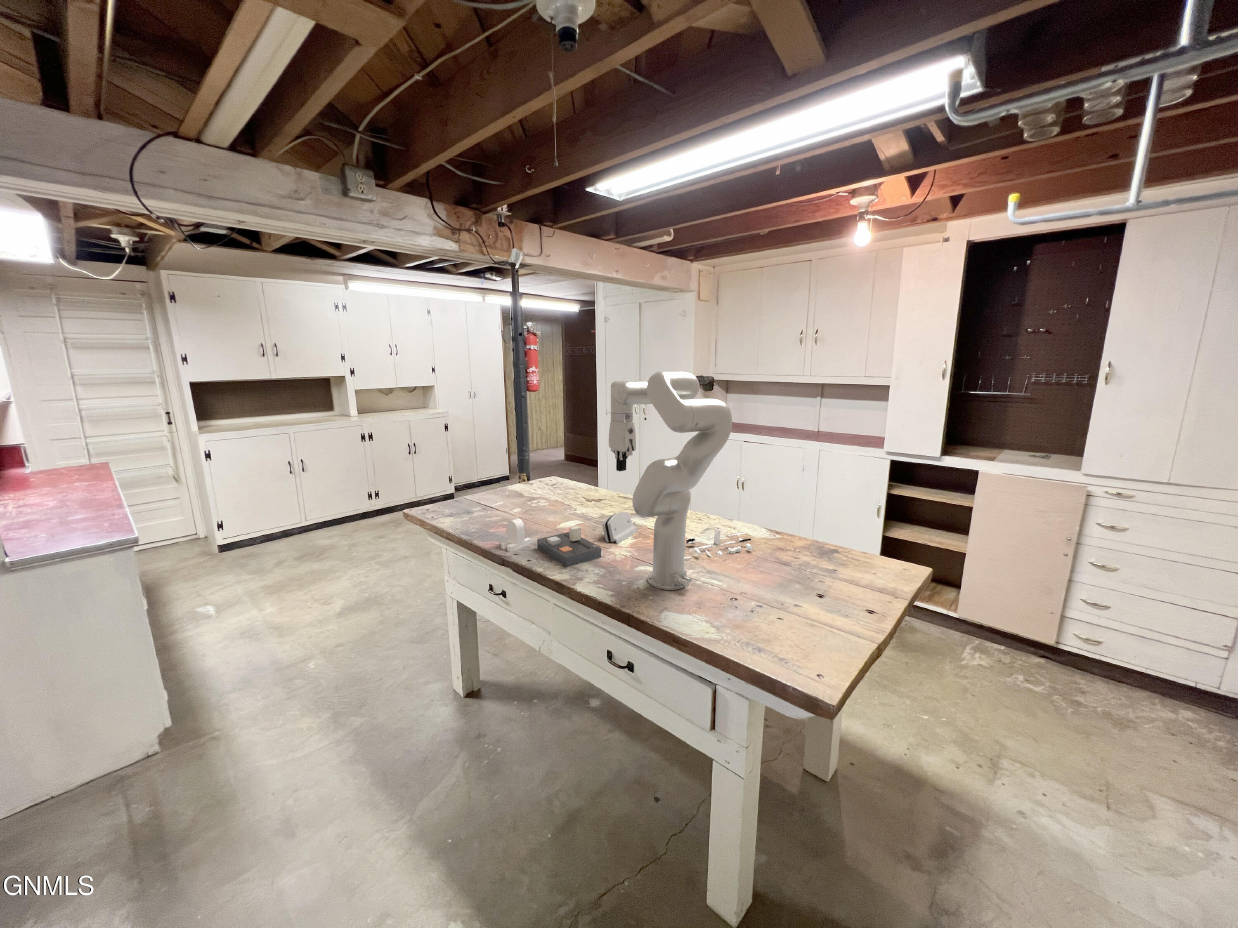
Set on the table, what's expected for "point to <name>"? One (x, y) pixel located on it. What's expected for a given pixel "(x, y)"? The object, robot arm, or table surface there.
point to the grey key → (553, 540)
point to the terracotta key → (565, 549)
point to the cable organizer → (515, 536)
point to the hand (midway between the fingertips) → (621, 470)
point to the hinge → (618, 527)
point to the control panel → (580, 552)
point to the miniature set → (717, 541)
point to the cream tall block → (575, 533)
